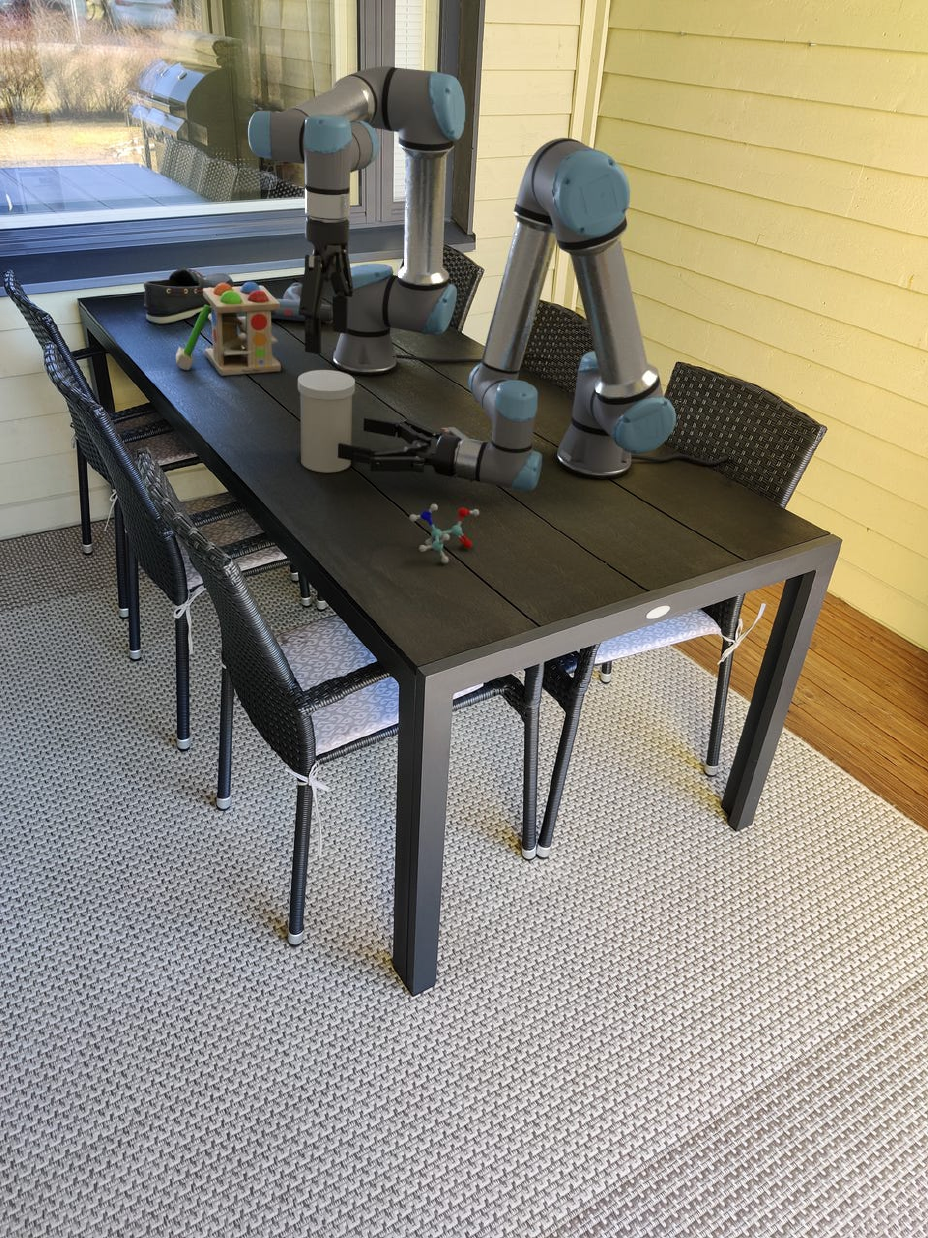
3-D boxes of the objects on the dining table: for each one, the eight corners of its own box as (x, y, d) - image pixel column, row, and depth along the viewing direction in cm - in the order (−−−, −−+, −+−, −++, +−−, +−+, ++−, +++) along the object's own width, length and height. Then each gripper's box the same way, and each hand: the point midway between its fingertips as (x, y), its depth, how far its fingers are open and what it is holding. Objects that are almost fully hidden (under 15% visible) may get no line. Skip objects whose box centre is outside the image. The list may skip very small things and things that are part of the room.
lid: (344, 403, 179) (344, 394, 178) (289, 394, 181) (289, 385, 180) (362, 384, 188) (362, 375, 187) (309, 375, 189) (309, 366, 188)
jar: (341, 476, 188) (343, 395, 179) (293, 467, 189) (292, 387, 180) (357, 455, 196) (359, 377, 187) (311, 447, 197) (310, 369, 188)
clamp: (428, 429, 204) (470, 423, 208) (427, 439, 205) (469, 432, 209) (464, 459, 193) (507, 451, 198) (463, 469, 194) (506, 461, 199)
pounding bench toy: (183, 379, 220) (176, 299, 210) (169, 357, 231) (162, 280, 221) (282, 371, 230) (280, 294, 220) (264, 350, 240) (262, 276, 230)
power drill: (344, 304, 276) (335, 327, 259) (277, 298, 275) (264, 321, 258) (344, 285, 273) (335, 306, 256) (277, 279, 272) (264, 300, 255)
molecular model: (470, 557, 159) (450, 498, 158) (419, 572, 163) (399, 515, 161) (491, 545, 170) (472, 489, 168) (442, 560, 173) (424, 506, 172)
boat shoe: (253, 302, 272) (251, 263, 267) (163, 325, 248) (159, 283, 243) (219, 293, 278) (216, 255, 272) (128, 316, 254) (123, 274, 248)
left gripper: (333, 201, 177) (332, 320, 190) (276, 227, 158) (279, 358, 170) (372, 207, 176) (369, 326, 188) (319, 234, 157) (319, 365, 169)
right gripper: (437, 503, 175) (326, 481, 179) (473, 450, 195) (373, 430, 199) (440, 465, 171) (327, 443, 175) (477, 414, 191) (374, 395, 195)
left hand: (326, 341), depth 179 cm, fingers open, 12 cm apart
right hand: (351, 436), depth 187 cm, fingers open, 13 cm apart
